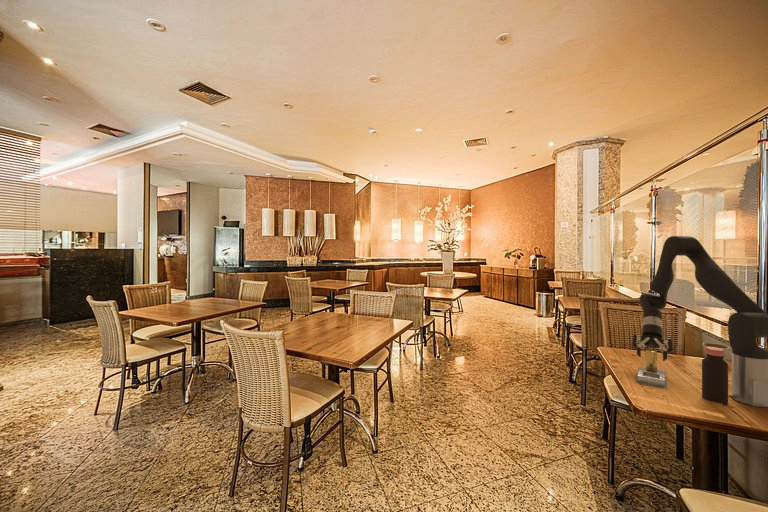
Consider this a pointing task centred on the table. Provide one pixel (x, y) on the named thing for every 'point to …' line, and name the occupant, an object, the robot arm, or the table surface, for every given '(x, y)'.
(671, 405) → the table surface
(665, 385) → the grey base plate
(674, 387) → the table surface
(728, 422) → the table surface
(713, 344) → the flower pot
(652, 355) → the pin
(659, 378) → the collar
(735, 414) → the table surface
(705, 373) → the bottle
